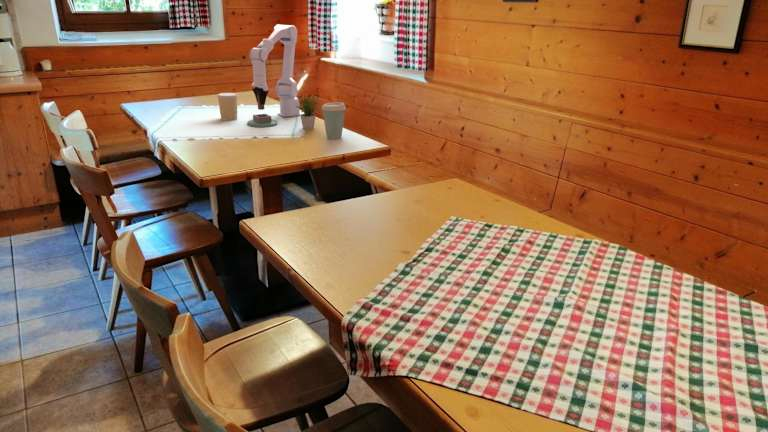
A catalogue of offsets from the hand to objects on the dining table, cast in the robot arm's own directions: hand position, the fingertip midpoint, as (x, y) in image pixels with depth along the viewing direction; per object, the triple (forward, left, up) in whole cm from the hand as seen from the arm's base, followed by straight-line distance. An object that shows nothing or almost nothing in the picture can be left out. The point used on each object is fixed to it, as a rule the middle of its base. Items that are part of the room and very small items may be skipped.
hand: (261, 103), depth 267 cm
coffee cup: (+10, -17, -10) cm, 22 cm away
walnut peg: (0, 0, -2) cm, 2 cm away
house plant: (-15, +20, -10) cm, 27 cm away
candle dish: (0, +1, -10) cm, 10 cm away
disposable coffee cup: (-18, +39, -10) cm, 44 cm away
